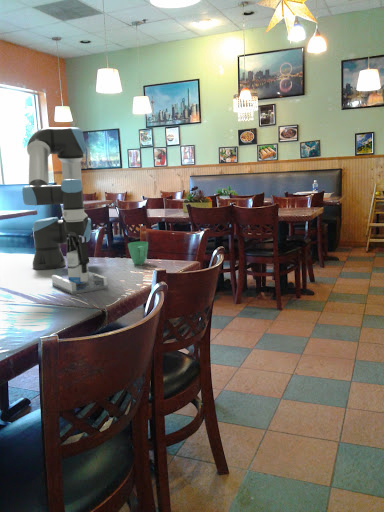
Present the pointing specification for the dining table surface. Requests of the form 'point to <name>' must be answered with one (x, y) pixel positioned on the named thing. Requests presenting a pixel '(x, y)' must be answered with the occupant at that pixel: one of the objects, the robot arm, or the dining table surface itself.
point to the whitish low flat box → (91, 285)
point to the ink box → (74, 267)
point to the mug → (138, 251)
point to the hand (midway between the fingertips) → (79, 279)
